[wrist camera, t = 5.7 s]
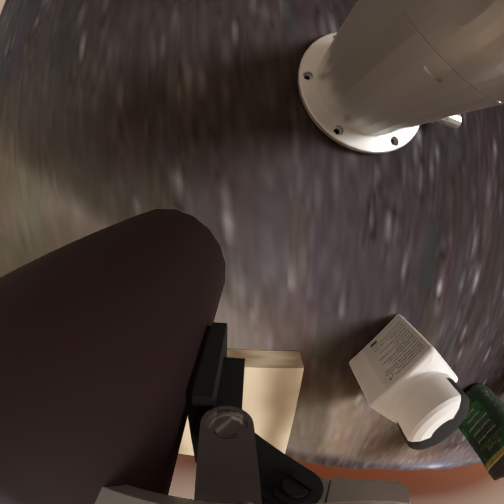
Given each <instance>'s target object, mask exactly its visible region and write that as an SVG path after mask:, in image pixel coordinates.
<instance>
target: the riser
mask: <svg viewBox="0 0 504 504" xmlns="http://www.w3.org/2000/svg"><path fill="white" fill-rule="evenodd" d="M227 357H232V358H245V368H244V386H243V403H242V410H244V411H246V412H247V413H248V414H249V415H250V416H251V417H252V420H253V423H254V431H255V433H256V434H257V435H259V436H260V437H261V438H263V439H264V440H266V441H267V442H268V443H270V444H271V445H273V446H274V447H275V448H277V449H278V450H280V451H281V452H283V453H284V454H285V451H286V448H287V444H288V440H289V436H290V431H291V427H292V423H293V419H294V414H295V410H296V405H297V401H298V396H299V391H300V386H301V381H302V376H303V371H304V366H303V362H302V359H301V355H300V352H299V351H263V350H240V349H227ZM178 453H179V454H186V455H193V456H194V451H193V446H192V440H191V434H190V428H189V421H188V417H187V421H186V425H185V429H184V433H183V437H182V441H181V444H180V448H179V452H178Z"/></svg>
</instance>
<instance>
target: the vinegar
mask: <svg viewBox="0 0 504 504" xmlns="http://www.w3.org/2000/svg"><path fill="white" fill-rule="evenodd" d="M224 283H225V261H224V258H223V254H222V251H221V248H220V245H219V243H218V242H217V240H216V239H215V237H214V236H213V235H212V233H211V232H210V230H209V229H208V228H207V227H206V226H204V225H203V224H202V223H201V222H199V221H198V220H197V219H196V218H194V217H193V216H191V215H188V214H185V213H183V212H180V211H177V210H175V209H155V210H152V211H149V212H146V213H143V214H140V215H137V216H135V217H132V218H130V219H127V220H124V221H122V222H119V223H117V224H114V225H112V226H110V227H107V228H105V229H102V230H100V231H98V232H95V233H93V234H91V235H88V236H86V237H84V238H81V239H79V240H77V241H75V242H72V243H70V244H68V245H66V246H63V247H61V248H59V249H57V250H55V251H53V252H51V253H48V254H46V255H44V256H42V257H40V258H38V259H36V260H34V261H32V262H30V263H28V264H26V265H24V266H22V267H20V268H18V269H16V270H14V271H12V272H10V273H9V274H7V275H5V276H3V277H1V278H0V504H95V502H96V500H97V497H98V495H99V493H100V491H101V489H102V487H113V486H120V485H129V486H133V487H136V488H140V489H144V490H148V491H152V492H156V493H160V494H165V495H168V493H169V488H170V485H171V481H172V476H173V472H174V468H175V464H176V460H177V456H178V452H179V448H180V444H181V441H182V437H183V433H184V429H185V425H186V421H187V417H188V408H187V389H188V386H189V382H190V379H191V376H192V373H193V369H194V366H195V363H196V360H197V356H198V353H199V350H200V347H201V344H202V340H203V337H204V334H205V331H206V328H207V326H211V325H212V322H214V318H215V315H216V311H217V307H218V304H219V300H220V297H221V293H222V290H223V286H224Z"/></svg>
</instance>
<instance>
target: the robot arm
mask: <svg viewBox="0 0 504 504" xmlns="http://www.w3.org/2000/svg"><path fill="white" fill-rule="evenodd" d="M304 77H307V78H308V79H309V80H306V79H305V78H304ZM297 83H298V90H299V95H300V98H301V100H302V103H303V106H304V108H305V109H306V111H307V113H308V115H309V117H310V118H311V119H312V120H313V122H314V123H315V124H316V125H317V127H318V128H319V129H320V130H321V131H322V132H324V133H325V134H326V135H327V136H328V137H329V138H331V139H332V140H334V141H335V142H337V143H338V144H340V145H342V146H344V147H346V148H348V149H350V150H353V151H357V152H361V153H367V154H380V153H387V152H391V151H395V150H397V149H399V148H401V147H403V146H405V145H406V144H407V143H408V142H409V141H410V140H411V139H412V138H413V137H414V135H415V134H416V133H417V131H418V129H419V126H420V125H422V124H425V123H434V122H435V121H437V122H440V123H441V124H443V125H445V126H448V127H451V128H453V129H458V128H459V127H460V125H461V122H462V117H461V114H462V113H467V112H471V111H475V110H479V109H483V108H488V107H492V106H497V105H502V104H504V0H358V1H357V2H356V4H355V5H354V7H353V8H352V10H351V12H350V13H349V15H348V16H347V18H346V20H345V21H344V23H343V24H342V26H341V28H340V29H339V31H338V32H335V33H330V34H328V35H325V36H323V37H320V38H319V39H318V40H316V41H315V42H314V43H312V44H311V45H310V47H309V48H308V49H307V50H306V51H305V53H304V55H303V57H302V59H301V62H300V66H299V69H298V78H297ZM334 129H336V130H337V131H338V134H335V133H334ZM391 141H392V143H391ZM244 368H245V358H232V357H227V323H215V322H212V325H211V326H207V328H206V331H205V334H204V337H203V340H202V344H201V347H200V350H199V353H198V356H197V360H196V363H195V366H194V369H193V373H192V376H191V379H190V382H189V386H188V389H187V408H188V421H189V428H190V434H191V440H192V446H193V451H194V457H195V462H196V463H197V467H196V480H195V495H194V500H192V499H186V498H179V497H175V496H169V495H165V494H160V493H156V492H152V491H148V490H144V489H140V488H136V487H133V486H129V485H120V486H113V487H102V489H101V491H100V493H99V495H98V497H97V500H96V502H95V504H411V503H409V502H410V496H409V491H408V489H407V488H406V487H405V486H404V485H403V484H401V483H399V482H395V481H379V480H358V479H347V478H337V477H332V478H331V480H330V479H323V478H319V477H318V476H317V475H316V474H315V473H314V472H312V471H310V470H309V469H307V468H305V467H304V466H302V465H301V464H299V463H298V462H296V461H295V460H293V459H292V458H290V457H289V456H287V455H286V454H284V453H283V452H281V451H280V450H278V449H277V448H275V447H274V446H273V445H271V444H270V443H268V442H267V441H266V440H264V439H263V438H261V437H260V436H259V435H257V434H256V433H255V431H254V423H253V420H252V417H251V416H250V415H249V414H248V413H247V412H246V411H244V410H242V403H243V386H244Z"/></svg>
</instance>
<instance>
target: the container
mask: <svg viewBox="0 0 504 504" xmlns="http://www.w3.org/2000/svg"><path fill="white" fill-rule="evenodd" d="M349 365H350V367H351V369H352V371H353V373H354V375H355V377H356V379H357V381H358V383H359V385H360V387H361V389H362V391H363V393H364V395H365V397H366V399H367V401H368V403H369V405H370V407H371V408H372V409H374V410H375V411H377V412H379V413H380V414H382V415H383V416H385V417H387V418H388V419H390V420H391V421H393V422H395V423H396V424H397V425H398V427H399V429H400V431H401V433H402V435H403V437H404V438H405V440H406V442H407V444H408V446H409V447H410V448H412V449H418V450H420V449H426V448H429V447H431V446H434V445H436V444H438V443H440V442H441V441H443V440H444V439H446V438H447V437H448V436H450V435H451V434H452V433H453V432H454V431H455V430H456V429H457V428H458V427H459V425H460V424H461V423H462V421H463V420H464V418H465V417H466V415H467V413H468V410H469V404H470V400H469V398H468V396H467V395H466V394H465V393H464V392H463V391H462V389H461V388H460V387H459V386H458V385H457V384H456V382H457V381H458V378H457V376H456V375H455V373H454V372H453V371H452V370H451V368H450V367H449V366H448V364H447V363H446V362H445V361H444V359H443V358H442V357H441V356H440V354H439V353H438V352H437V351H436V349H435V348H434V347H433V346H432V345H431V344H430V343H429V342H428V341H427V340H426V339H425V338H424V337H423V336H422V335H421V334H420V333H419V332H418V331H417V330H416V329H415V328H414V327H413V326H412V325H411V324H410V323H409V322H408V321H407V320H405V319H404V318H403V317H402V316H401V315H399V314H398V315H396V316H395V317H394V318H393V319H392V320H391V321H390V322H389V324H388V325H387V326H386V327H385V328H384V329H383V330H382V331H381V332H380V333H379V334H378V335H377V336H376V337H375V338H374V339H373V340H372V341H371V342H369V343H368V344H367V345H366V346H365V347H364V348H363V349H362V350H361V351H360V352H359V353H358V354H357V355H356V356H355V357H353V358H352V359H351V360H350V361H349Z"/></svg>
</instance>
